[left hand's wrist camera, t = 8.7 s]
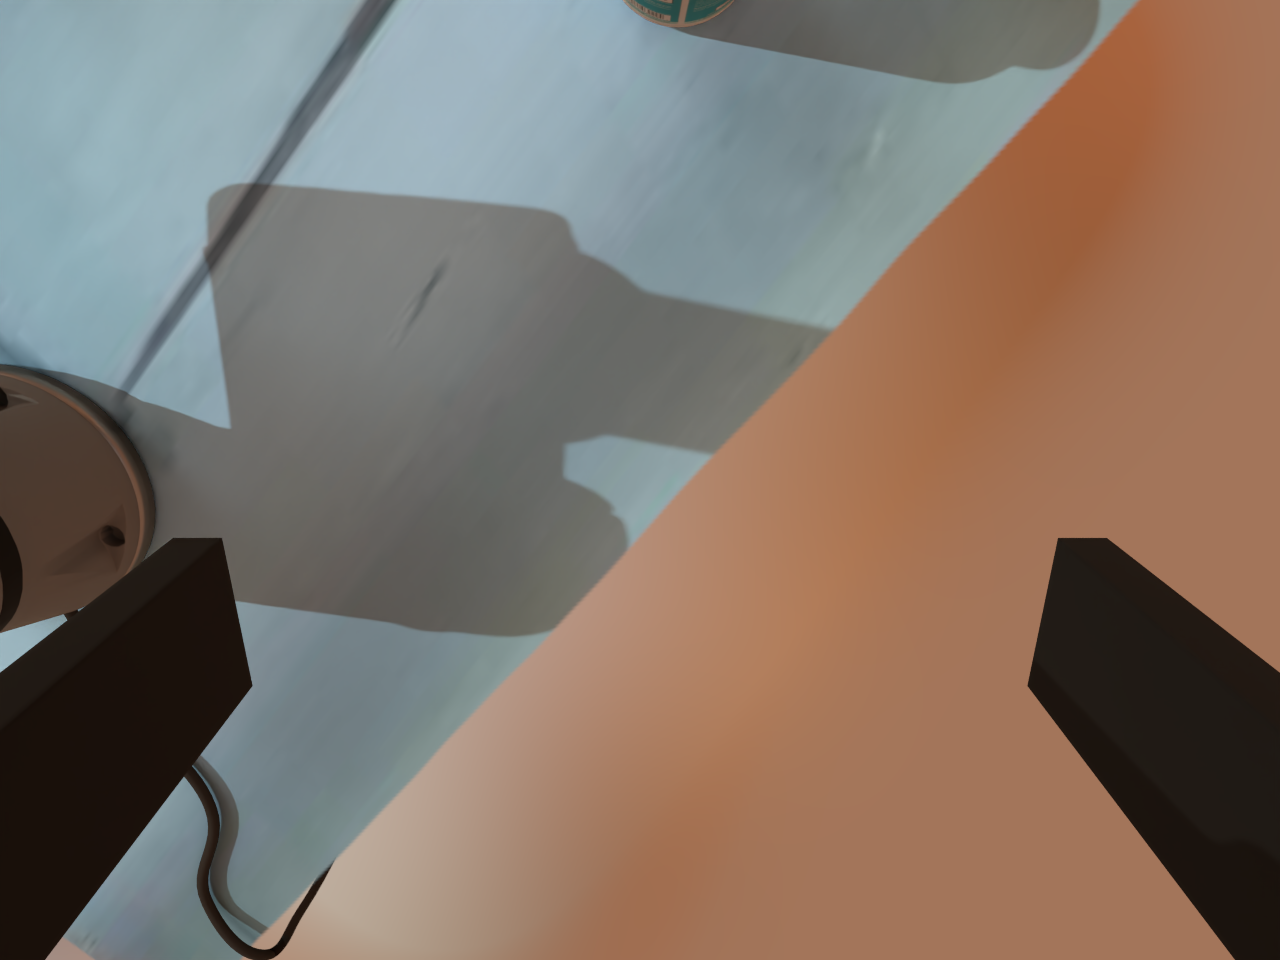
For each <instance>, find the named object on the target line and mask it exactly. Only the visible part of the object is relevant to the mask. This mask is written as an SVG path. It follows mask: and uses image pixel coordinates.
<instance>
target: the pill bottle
mask: <svg viewBox="0 0 1280 960" xmlns="http://www.w3.org/2000/svg"><path fill="white" fill-rule="evenodd" d="M623 1H624V2H625V3H626V4H627V5H628V6H629V7H630V8H631V9H632V10H633V11H634V12H635V13H637V14H638V15H640V16H641V17H643V18H645V19H646V20H648V21H651V22H653V23H656V24H659V25H663V26H667V27H688V26H694V25H697V24H700V23H703V22H706V21H708V20H710V19H712V18H714V17H715V16H717V15H719V14H720V13H721V12H723V11H724V10H725V9H726V8H727V7H729V6H730V5H731V4H732V2H733V1H734V0H623Z"/></svg>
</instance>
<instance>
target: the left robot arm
mask: <svg viewBox="0 0 1280 960" xmlns="http://www.w3.org/2000/svg"><path fill="white" fill-rule="evenodd" d="M154 526H155V502H154V496H153V491H152V487H151V483H150V480H149V477H148V474H147V472H146V469H145V467H144V465H143V463H142V461H141V459H140V457H139V455H138V453H137V451H136V450H135V448H134V447H133V445H132V443H131V442H130V441H129V439H128V438H127V437H126V435H125V434H124V432H123V431H122V430H121V429H120V428H119V427H118V426H117V424H116V423H115V422H114V421H113V420H112V419H111V418H110V417H109V416H108V415H107V414H106V413H105V412H104V411H103V410H101V409H100V408H99V407H98V406H97V405H95V404H94V403H93V402H92V401H90V400H89V399H88V398H86V397H85V396H83V395H82V394H81V393H79V392H77V391H76V390H74V389H72V388H71V387H69V386H67V385H65V384H63V383H61V382H59V381H57V380H55V379H53V378H51V377H48V376H46V375H43V374H40V373H37V372H34V371H31V370H28V369H24V368H19V367H15V366H8V365H1V364H0V633H2V632H5V631H8V630H12V629H15V628H19V627H22V626H25V625H29V624H32V623H35V622H39V621H42V620H45V619H49V618H52V617H55V616H59V615H62V614H64V615H65V617H66V618H67V621H66V622H65V623H63V624H62V625H61V626H60V627H58V628H57V629H56V630H54V631H53V632H52V633H51V634H49V635H48V636H47V637H46V638H44V639H43V640H42V641H40V642H39V643H38V644H37V645H35V646H34V647H33V648H31V649H30V650H29V651H28V652H26V653H25V654H24V655H22V656H21V657H20V658H19V659H17V660H16V661H15V662H13V663H12V664H11V665H10V666H8V667H7V668H6V669H4V670H3V671H2V672H1V673H0V960H45V959H46V958H47V956H48V955H49V954H50V952H51V951H52V950H53V948H54V947H55V946H56V945H57V943H58V942H59V941H60V939H61V938H62V937H63V935H64V934H65V933H66V931H67V930H68V929H69V927H70V926H71V925H72V923H73V922H74V921H75V919H76V918H77V917H78V915H79V914H80V913H81V912H82V910H83V909H84V908H85V906H86V905H87V904H88V902H89V901H90V900H91V898H92V897H93V896H94V894H95V893H96V892H97V890H98V889H99V888H100V886H101V885H102V884H103V882H104V881H105V880H106V879H107V877H108V876H109V875H110V873H111V872H112V871H113V869H114V868H115V867H116V865H117V864H118V863H119V861H120V860H121V859H122V857H123V856H124V855H125V853H126V852H127V851H128V849H129V848H130V847H131V846H132V844H133V843H134V842H135V840H136V839H137V838H138V836H139V835H140V834H141V832H142V831H143V830H144V828H145V827H146V826H147V824H148V823H149V822H150V820H151V819H152V818H153V817H154V815H155V814H156V813H157V811H158V810H159V809H160V807H161V806H162V805H163V803H164V802H165V801H166V799H167V798H168V797H169V795H170V794H171V793H172V791H173V790H174V789H175V787H176V786H177V785H178V784H179V782H180V781H181V780H182V778H183V777H185V778H186V779H187V780H188V782H189V783H190V784H191V786H192V787H193V788H194V790H195V792H196V793H197V795H198V796H199V798H200V800H201V802H202V804H203V806H204V809H205V812H206V815H207V820H208V836H207V842H206V845H205V849H204V852H203V855H202V858H201V861H200V865H199V869H198V874H197V890H198V895H199V898H200V901H201V903H202V906H203V908H204V910H205V912H206V914H207V916H208V918H209V919H210V921H211V923H212V924H213V926H214V927H215V929H216V930H217V932H218V933H219V934H220V936H221V937H222V938H223V939H224V941H225V942H226V943H227V944H228V945H229V946H230V947H231V948H232V949H234V950H235V951H236V952H238V953H239V954H241V955H242V956H244V957H246V958H249V959H252V960H269V959H272V958H274V957H276V956H278V955H279V954H280V953H281V952H282V951H283V949H284V948H285V947H286V946H287V944H288V943H289V941H290V939H291V937H292V935H293V933H294V931H295V929H296V927H297V925H298V923H299V922H300V920H301V918H302V917H303V915H304V913H305V912H306V910H307V908H308V907H309V905H310V904H311V902H312V900H313V899H314V897H315V896H316V894H317V892H318V890H319V889H320V887H321V885H322V883H323V882H324V880H325V878H326V876H327V874H328V872H329V871H330V869H331V867H332V865H333V863H334V862H333V863H332V864H331V865H330V866H329V867H328V868H326V870H325V871H324V872H323V873H322V874H321V875H320V876H319V877H318V878H317V879H316V880H315V881H314V883H313V884H312V886H311V888H310V889H309V891H308V893H307V894H306V896H305V898H304V899H303V901H302V902H301V904H300V905H299V907H298V908H297V910H296V912H295V913H294V915H293V916H292V918H291V920H290V922H289V924H288V925H287V927H286V929H285V931H284V933H283V935H282V937H281V938H280V940H279V942H278V943H277V944H276V945H275V946H274V947H272V948H270V949H267V950H262V949H256V948H253V947H251V946H249V945H247V944H246V943H244V942H243V941H242V940H241V939H239V938H238V937H237V936H236V935H235V934H234V933H233V931H232V930H231V929H230V928H229V926H228V925H227V924H226V922H225V921H224V919H223V918H222V916H221V915H220V913H219V911H218V909H217V908H216V906H215V904H214V902H213V900H212V897H211V895H210V892H209V886H208V875H209V869H210V866H211V862H212V859H213V856H214V853H215V850H216V846H217V843H218V838H219V832H220V821H219V814H218V811H217V807H216V804H215V802H214V799H213V797H212V795H211V793H210V791H209V789H208V787H207V786H206V784H205V783H204V781H203V780H202V778H201V777H200V776H199V774H198V773H197V772H196V771H195V769H194V768H193V767H192V765H193V764H194V762H195V761H196V760H197V758H198V757H199V756H200V754H201V753H202V752H203V751H204V749H205V748H206V747H207V745H208V744H209V743H210V741H211V740H212V739H213V737H214V736H215V735H216V733H217V732H218V731H219V729H220V728H221V727H222V725H223V724H224V723H225V721H226V720H227V719H228V718H229V716H230V715H231V714H232V712H233V711H234V710H235V708H236V707H237V706H238V704H239V703H240V702H241V700H242V699H243V698H244V696H245V695H246V694H247V692H248V691H249V690H250V688H251V687H252V681H251V676H250V671H249V667H248V662H247V657H246V652H245V647H244V642H243V638H242V633H241V628H240V623H239V618H238V613H237V609H236V604H235V599H234V594H233V589H232V585H231V580H230V575H229V570H228V565H227V560H226V556H225V551H224V546H223V541H222V538H173V539H171V540H170V541H169V542H167V543H166V544H165V545H164V546H162V547H161V548H160V549H158V550H157V551H156V552H155V553H153V554H152V555H151V556H149V557H148V558H147V559H146V560H144V561H143V559H144V557H145V555H146V554H147V551H148V549H149V546H150V544H151V540H152V537H153V533H154ZM142 561H143V562H142ZM141 562H142V563H141ZM84 606H85V607H84ZM82 607H84V608H83V609H81V610H80V611H78V609H80V608H82ZM1028 687H1029V688H1030V690H1031V691H1032V692H1033V694H1034V695H1035V696H1036V698H1037V699H1038V700H1039V702H1040V703H1041V704H1042V706H1043V707H1044V708H1045V710H1046V711H1047V712H1048V714H1049V715H1050V716H1051V717H1052V719H1053V720H1054V721H1055V723H1056V724H1057V725H1058V727H1059V728H1060V729H1061V731H1062V732H1063V733H1064V735H1065V736H1066V737H1067V739H1068V740H1069V741H1070V743H1071V744H1072V745H1073V746H1074V748H1075V749H1076V750H1077V752H1078V753H1079V754H1080V756H1081V757H1082V758H1083V760H1084V761H1085V762H1086V764H1087V765H1088V766H1089V768H1090V769H1091V770H1092V772H1093V773H1094V774H1095V776H1096V777H1097V778H1098V780H1099V781H1100V782H1101V784H1102V785H1103V786H1104V787H1105V789H1106V790H1107V791H1108V793H1109V794H1110V795H1111V797H1112V798H1113V799H1114V801H1115V802H1116V803H1117V805H1118V806H1119V807H1120V809H1121V810H1122V811H1123V813H1124V814H1125V815H1126V816H1127V818H1128V819H1129V820H1130V822H1131V823H1132V824H1133V826H1134V827H1135V828H1136V830H1137V831H1138V832H1139V834H1140V835H1141V836H1142V838H1143V839H1144V840H1145V842H1146V843H1147V844H1148V846H1149V847H1150V848H1151V850H1152V851H1153V852H1154V853H1155V855H1156V856H1157V857H1158V859H1159V860H1160V861H1161V863H1162V864H1163V865H1164V867H1165V868H1166V869H1167V871H1168V872H1169V873H1170V875H1171V876H1172V877H1173V878H1174V880H1175V881H1176V882H1177V884H1178V885H1179V886H1180V888H1181V889H1182V890H1183V892H1184V893H1185V894H1186V896H1187V897H1188V898H1189V900H1190V901H1191V902H1192V904H1193V905H1194V906H1195V908H1196V909H1197V910H1198V912H1199V913H1200V914H1201V915H1202V917H1203V918H1204V919H1205V921H1206V922H1207V923H1208V925H1209V926H1210V927H1211V929H1212V930H1213V931H1214V933H1215V934H1216V935H1217V937H1218V938H1219V939H1220V941H1221V942H1222V943H1223V945H1224V946H1225V947H1226V948H1227V950H1228V951H1229V952H1230V954H1231V955H1232V956H1233V958H1234V959H1235V960H1280V673H1279V672H1278V671H1277V670H1276V669H1274V668H1273V667H1272V666H1270V665H1269V664H1268V663H1267V662H1265V661H1264V660H1263V659H1261V658H1260V657H1259V656H1258V655H1256V654H1255V653H1254V652H1252V651H1251V650H1250V649H1249V648H1247V647H1246V646H1245V645H1243V644H1242V643H1241V642H1240V641H1238V640H1237V639H1236V638H1234V637H1233V636H1232V635H1231V634H1229V633H1228V632H1227V631H1226V630H1224V629H1223V628H1222V627H1220V626H1219V625H1218V624H1216V623H1215V622H1214V621H1213V620H1211V619H1210V618H1209V617H1208V616H1206V615H1205V614H1204V613H1202V612H1201V611H1200V610H1199V609H1197V608H1196V607H1195V606H1193V605H1192V604H1191V603H1190V602H1188V601H1187V600H1186V599H1184V598H1183V597H1182V596H1181V595H1179V594H1178V593H1177V592H1175V591H1174V590H1173V589H1172V588H1170V587H1169V586H1168V585H1166V584H1165V583H1164V582H1163V581H1161V580H1160V579H1159V578H1157V577H1156V576H1155V575H1154V574H1152V573H1151V572H1150V571H1148V570H1147V569H1146V568H1145V567H1143V566H1142V565H1141V564H1140V563H1138V562H1137V561H1136V560H1134V559H1133V558H1132V557H1130V556H1129V555H1128V554H1127V553H1125V552H1124V551H1123V550H1121V549H1120V548H1119V547H1118V546H1116V545H1115V544H1114V543H1112V542H1111V541H1110V540H1109V539H1107V538H1058V541H1057V546H1056V551H1055V556H1054V560H1053V565H1052V570H1051V575H1050V580H1049V585H1048V589H1047V594H1046V599H1045V604H1044V609H1043V614H1042V618H1041V623H1040V628H1039V633H1038V638H1037V642H1036V647H1035V652H1034V657H1033V662H1032V667H1031V672H1030V676H1029V681H1028Z"/></svg>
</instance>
